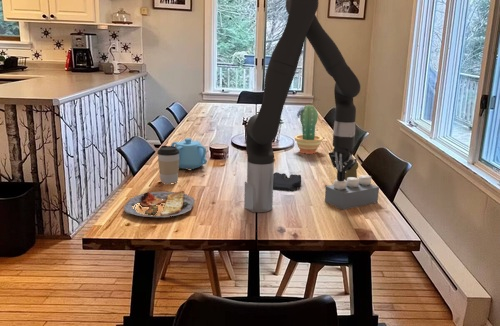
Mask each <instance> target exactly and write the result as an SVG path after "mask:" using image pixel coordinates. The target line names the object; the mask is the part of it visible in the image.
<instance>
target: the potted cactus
mask: <svg viewBox="0 0 500 326" xmlns="http://www.w3.org/2000/svg"><path fill="white" fill-rule="evenodd" d="M296 116H297V119H299V120H300V124H301V130H302V134H298V135H294V140H295V141H296V145H297V148H299V149H298V150H299V153H301V154H304V153H306V154H307V155H309V154H310V155H314V154H316V153H317V150H318V149H319V147H320V145H321V143H322V142H323V141H324V138H323V136H319V135H316V125H317V122H318V117H319V113H318V111H317V109H316V107H315V106H314V105H305V106H304V107H300V109H299V110H298V112H297V113H296ZM313 153H314V154H313ZM306 154H305V155H306Z"/></svg>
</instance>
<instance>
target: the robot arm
mask: <svg viewBox="0 0 500 326" xmlns="http://www.w3.org/2000/svg"><path fill="white" fill-rule="evenodd" d="M318 7H319V0H286V1H285V10H286V12H287V15H288V16H287V20H286V24H285V27H284V29H283V32H282V34H281V36H280V37H279V40H278V41H277V43H276V45H275V47H274V49H273V50H272V54H271V56H270V59H269V62H268V66H267V68H266V73H265V77H264V85H263V97H262V102H261V104H260V105H261V106H260V108H259V111H258V113H256V114H253V115H252V116H251V117H250V118H249V119H248V121H247V123H246V128H245V141H246V142H245V146H246V148H245V150H246V151H245V152H246V154H247V155H246V156H247V160H246V161H247V165H246V167H247V168H246V171H247V172H246V174H247V175H246V181H244V201H243V203H244V205H243V207H244V208H245V209H246V210H248V211H250V212H251V213H266V212H271V210H273V202H274V201H273V199H274V190H273V176H274V173H275V172H274V169H275V153H274V150H273V141H274V140H275V139H276V137H277V136H278V132H279V127H280V123H281V118H282V113H283V111H284V110H283V109H284V106H285V103H286V100H287V98H288V95H289V92H290V89H291V86H292V82H293V81H294V77H295V74H296V72H297V68H298V64H299V61H300V58H301V55H302V51H303V47H304V45H305V40H306V39H307V41H308V43H309V44H310V45H311V47H312V49H313V50H314V52H315V53H316V55H317V57H318V59H319V61H320V63H321V64H322V66H323V68H324V70H325V71H326V73H327V74H328V75H329V76H330V77H332V78H333V80H334V82H335V84H334V91H333V92H334V102H335V103H334V104H335V111H334V112H335V113H334V124H333V130H332V131H333V134H332V147H333V150H332V151H331V152H328V156H329V159H330V162H331V164H332V167H333V168H335V169H336V171H337V172H336V179H337V180H338V181H344V180H345V173H346V171H349V170H351V168H352V167H353V166H354V164H355V163H356V162H358V159H357V158H355V157H354V156H353V148H354V147H355V138H356V115H357V108H356V106H355V104H354V98H355V97H357V96H358V95H359V93H361V83H360V81H359V79H358V77H357V76H356V74H355V72H354V71H353V70H352V69H351V68H350V66H349V64H348V63H347V62H346V59H345V58H344V56H343V54H342V52H341V51H340V49H339V47H338V46H337V44H336V42H335V41H334V40H333V38H331V36H330V35H329V34H328V33H327V31H325V29H324V28H323V26H322V25H321V23H320V22H319V19H318V18H317V15H316V13H317V11H318V10H319V9H318Z"/></svg>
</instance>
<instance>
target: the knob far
mask: <svg viewBox="0 0 500 326" xmlns="http://www.w3.org/2000/svg"><path fill="white" fill-rule="evenodd" d="M358 179H359V184H362V186H367V185H370V184H371V183H372V176H371V175H368V174H367V175H366V174H361V175H359V176H358Z"/></svg>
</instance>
